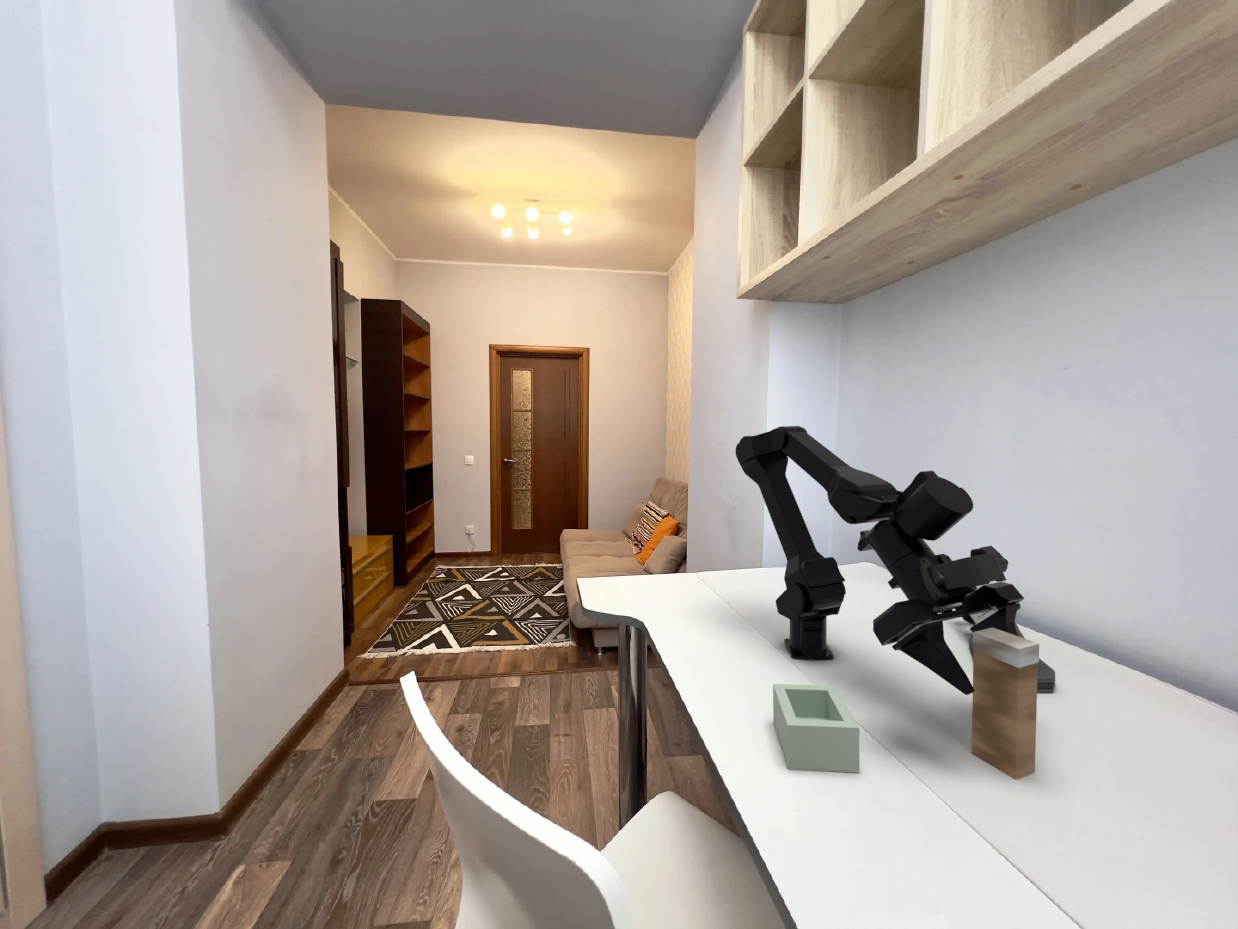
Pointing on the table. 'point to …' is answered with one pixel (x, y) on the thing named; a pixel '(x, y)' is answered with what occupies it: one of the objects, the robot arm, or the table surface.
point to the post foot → (815, 728)
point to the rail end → (1005, 701)
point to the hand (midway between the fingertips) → (1000, 684)
